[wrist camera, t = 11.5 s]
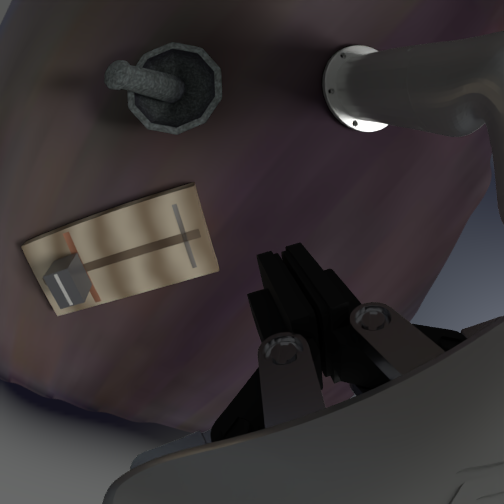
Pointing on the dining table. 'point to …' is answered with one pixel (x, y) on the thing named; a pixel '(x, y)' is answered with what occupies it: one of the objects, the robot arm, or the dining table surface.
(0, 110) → the dining table surface
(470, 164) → the dining table surface
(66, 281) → the fader knob
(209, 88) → the mortar and pestle
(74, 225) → the fader board
